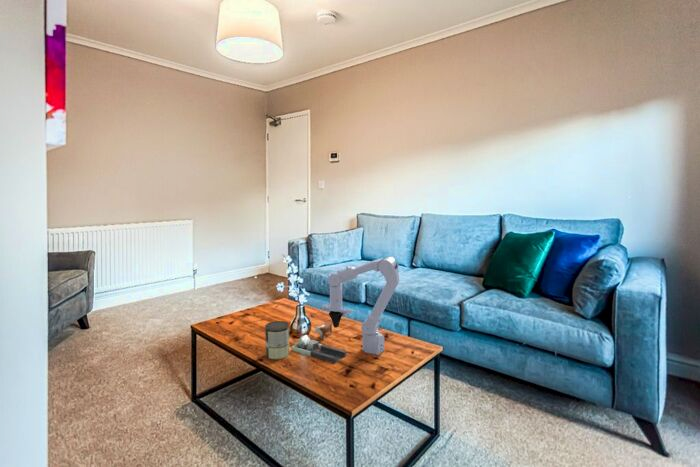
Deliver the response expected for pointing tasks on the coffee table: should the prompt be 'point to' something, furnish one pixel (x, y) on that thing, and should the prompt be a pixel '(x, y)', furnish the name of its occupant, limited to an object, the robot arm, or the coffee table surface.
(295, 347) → the tray
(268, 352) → the coffee can
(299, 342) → the chip
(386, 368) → the coffee table surface
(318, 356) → the slot board
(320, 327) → the bull figurine
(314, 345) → the grey cube
